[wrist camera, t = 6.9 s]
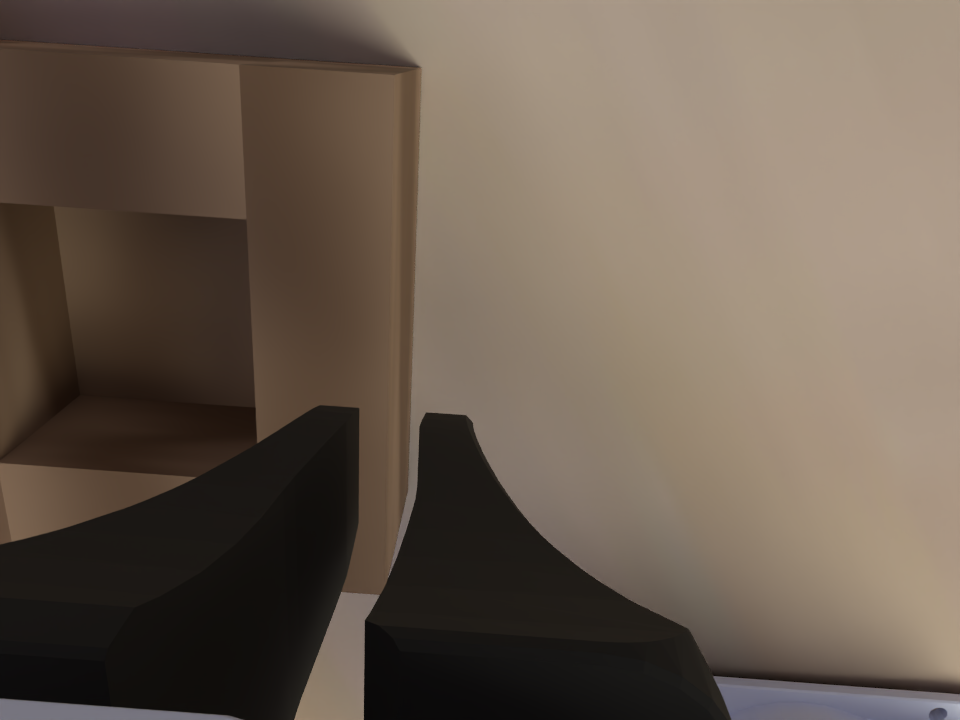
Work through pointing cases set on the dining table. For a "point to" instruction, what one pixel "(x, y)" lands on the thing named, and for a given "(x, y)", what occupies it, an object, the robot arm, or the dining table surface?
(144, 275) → the pocket block
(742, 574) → the dining table surface
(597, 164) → the dining table surface
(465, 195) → the dining table surface
